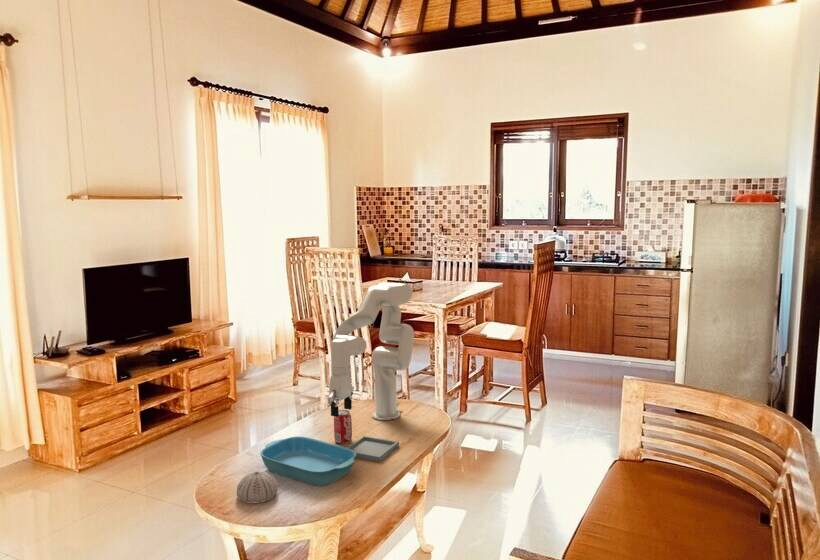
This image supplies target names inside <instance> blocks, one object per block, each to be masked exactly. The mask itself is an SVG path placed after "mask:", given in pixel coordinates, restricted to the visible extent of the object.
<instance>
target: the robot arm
mask: <svg viewBox="0 0 820 560" xmlns="http://www.w3.org/2000/svg"><path fill="white" fill-rule="evenodd" d="M412 297H413V289H412V287H411V286H410V285H409V284H407V283H401V282H400V283H398V282H381V283H378V284H377V285H372V286H369V288H367V291H366V292H365V294H364V296H363V298H362V300H361V302H360V304H359V306H358V309H357V310H356V312H355V313H353V314H352V315H350V316H348V317H347V318H346V319H344V321H342V322H341V323H340V324H339V326H338V327H337V329H336V331H335V333H334V335H333V337H332V341H331V342H330V359H331V360H330V368H331V369H330V371H331V375H330V378H329V390H328V391H329V392H328V396H327V400H328V404H329V407H330V416H332V417H334V416H335V417H338V416H339V406H338V405H339V402H341V401H342V400H343V404H344V405H343V406H344V407H343V408H344V409H343V410H348V411H349V410H350V411H351V410H352V409H353V408H352V405H353V403H352V402H353V401H352V400H353V395H354V386H353V385H352V376H351V357H352V356H360V355H362V354H364V353H365V351H366V349H367V341H366V339H365V338H363V337H361V336H358V335H352V334H351V333H353V332H354V331H357V330H358V329H361V328H365V327H366V326H369V325H372V324H374V322H375V321H376V319H377V316H378V315H379V312H380V310H382V311H381V313H382V315H381V321H380V328H379V331H378V332H379V333H378V338H379V341H380V342H381V343H384V344H387V345H388V344H389V345H397V346H398V347H393V346H387V345H386V346H382V345H381V346H378V347H376V348H375V349H373V351H372V354H371V361H372V362H371V363H372V365H373V374H374V405H375V410H374V411H372V414H371V416H372V418H373V419H374V420H378V421H390V420H391V419H393V420H396V419H398V418H399V417H400V416H401V413H400V412H401V411H400V410H398V409H397V408H398V407H399V406H400V402H399V401H397V376H396V373H395V371H405V370H407V369H408V368H409V367H410V363H411V361H412V360H411V359H412V355H413V354H412V352H413V348H414V341H415V333H414V332H415V331H414V328H413V327H412V326H411V324H407V323H401V319H402V311H401V308H400V306H401V305H405V304H407V303H409V302H410V301H411V299H412ZM394 370H395V371H394Z"/></svg>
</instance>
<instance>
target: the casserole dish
mask: <svg viewBox="0 0 820 560" xmlns="http://www.w3.org/2000/svg"><path fill="white" fill-rule="evenodd" d="M259 454H260V456H261V459H262V461H263V463H264V466H265V468H266V469H267V470H269V471H270V472H273V473H274V474H277V475H279V474H280V476H282V475H283V477H285V476H286V478H288V477H289V478H288V479H291V478H292V480H294V479H295V481H297V480H298V482H300V481H301V483H303V482H304V483H305V484H307V485H309V486H310V485H311V486H315V487H316V486H317V487H325V486H329V485H331V484H332V483H335V482H336V481H338V480H339V479H341V478H343V477H344V476H345V475H347V474H349V473H350V472H351V470H352V469H353V467H354V464H355V461H356V459H357V458H356V452H355V451H353V450H351V449H349V448H346V446H345V447H344V446H343V445H338V444H335V443H331V442H326V441H322V440H319V439H315V438H312V437H306V436H291V437H288V438H281V439H277V440H274V441H273V440H272V441H270V442H269V443H267V444H265V446H264V448H263V449H261V450H260V453H259Z"/></svg>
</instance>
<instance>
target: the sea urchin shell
mask: <svg viewBox="0 0 820 560" xmlns="http://www.w3.org/2000/svg"><path fill="white" fill-rule="evenodd" d="M278 485H279V483H278V481H277V479H276V478H275V477H274V476H273V475H272V474H270V473H269V472H266V471H261V470H256V471H253V472H251V473H248V474H247V475H245V476H244V477H243V478H242V479H240V481H239V482H238V484H237V486H236V491H235V493H236V496H237V499H238V500H239V501H241V500H242V501H241V502H243V503H245V502H261V503H263V502H262V501H264V502H266V501H265V500H267V501H269V500H271V499H272V498H274V497H275V495H276V494H277V493H278V490H279V486H278ZM268 499H269V500H268Z"/></svg>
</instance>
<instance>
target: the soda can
mask: <svg viewBox="0 0 820 560" xmlns="http://www.w3.org/2000/svg"><path fill="white" fill-rule="evenodd" d="M338 411H339V416H338V417H335V416H333V435H334V441H335V442H336V443H338V444H343V445H344V444H345V445H346V444H348V443H349V442H351V441H352V439H353V429H352V428H353V427H352V426H353V424H352V421H353V420H352V415H351V414H350V411H349V409H338Z"/></svg>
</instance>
